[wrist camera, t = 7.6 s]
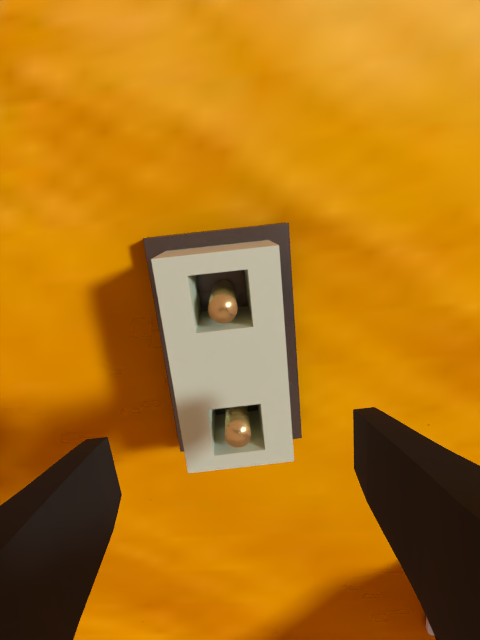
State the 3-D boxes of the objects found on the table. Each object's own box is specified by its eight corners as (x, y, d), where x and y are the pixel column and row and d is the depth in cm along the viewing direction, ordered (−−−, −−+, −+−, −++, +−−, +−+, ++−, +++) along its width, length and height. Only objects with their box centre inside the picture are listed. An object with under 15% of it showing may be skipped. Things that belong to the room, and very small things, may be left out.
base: (298, 427, 21) (317, 481, 17) (182, 441, 21) (171, 498, 17) (285, 222, 18) (304, 224, 13) (147, 237, 18) (122, 243, 13)
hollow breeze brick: (282, 419, 20) (294, 461, 16) (194, 430, 20) (188, 473, 16) (268, 239, 17) (279, 245, 14) (165, 250, 17) (151, 258, 14)
